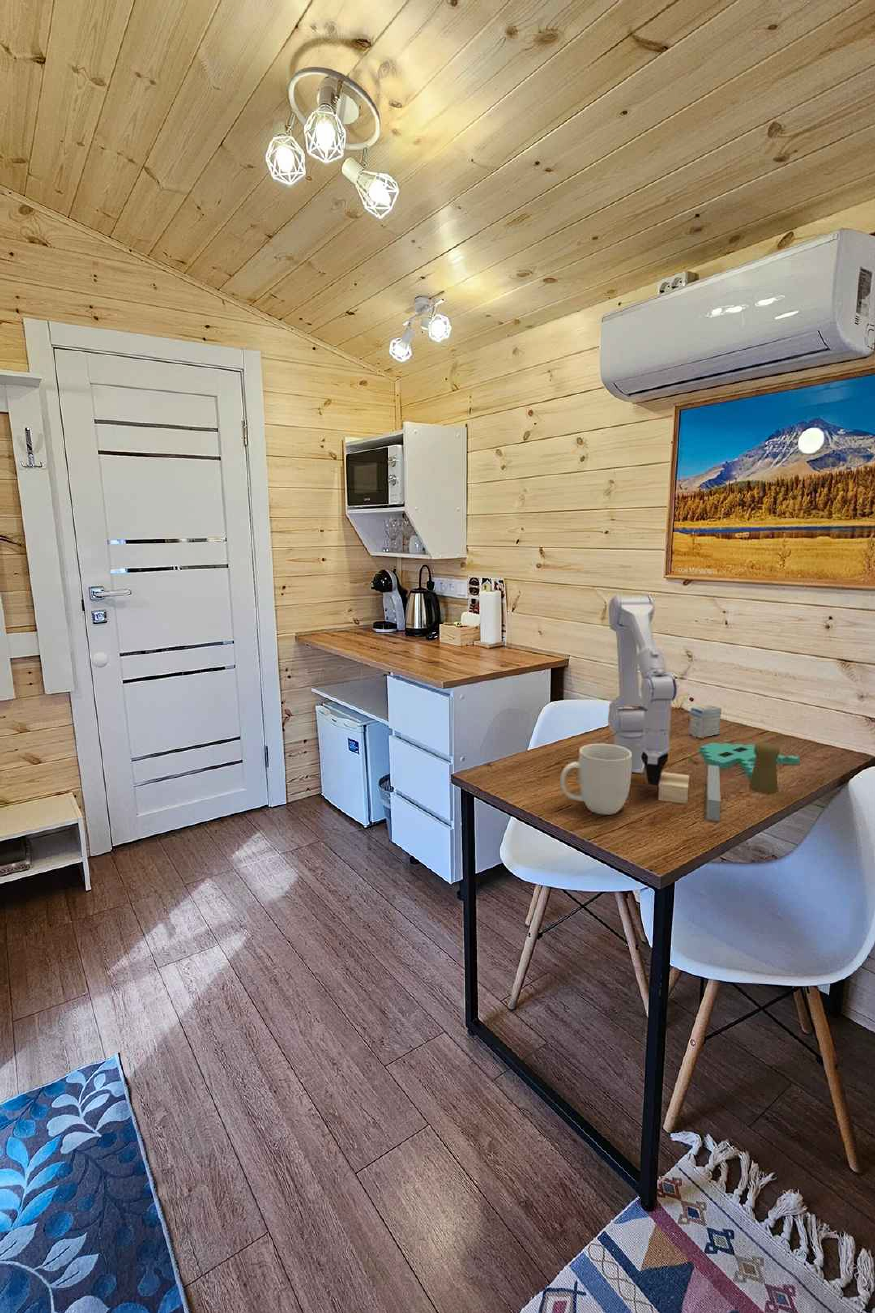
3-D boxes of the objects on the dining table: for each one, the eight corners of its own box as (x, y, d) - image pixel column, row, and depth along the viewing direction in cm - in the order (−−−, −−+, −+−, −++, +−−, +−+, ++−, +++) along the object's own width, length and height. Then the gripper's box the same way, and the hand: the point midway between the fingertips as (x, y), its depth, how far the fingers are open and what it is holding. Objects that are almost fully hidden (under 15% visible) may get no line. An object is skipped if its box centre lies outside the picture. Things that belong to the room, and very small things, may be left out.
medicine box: (707, 731, 190) (709, 704, 188) (719, 735, 186) (721, 707, 184) (688, 735, 186) (690, 707, 185) (700, 739, 182) (702, 711, 181)
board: (706, 782, 149) (708, 764, 149) (717, 784, 149) (719, 766, 148) (706, 819, 130) (707, 799, 129) (719, 821, 129) (720, 801, 128)
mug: (565, 819, 130) (566, 760, 128) (555, 798, 141) (557, 743, 139) (636, 819, 130) (639, 759, 128) (621, 798, 141) (623, 743, 139)
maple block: (660, 787, 147) (661, 771, 146) (688, 791, 145) (689, 775, 144) (658, 800, 140) (659, 783, 139) (686, 804, 138) (688, 787, 137)
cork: (744, 783, 149) (748, 739, 147) (771, 784, 148) (775, 739, 146) (754, 793, 143) (758, 747, 141) (782, 794, 142) (786, 748, 140)
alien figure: (799, 765, 162) (727, 745, 178) (799, 757, 161) (727, 738, 178) (756, 782, 151) (684, 759, 167) (756, 773, 150) (684, 751, 167)
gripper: (641, 717, 149) (638, 771, 152) (634, 734, 136) (631, 792, 139) (672, 720, 147) (669, 775, 149) (668, 738, 133) (665, 797, 136)
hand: (653, 784), depth 144 cm, fingers closed
